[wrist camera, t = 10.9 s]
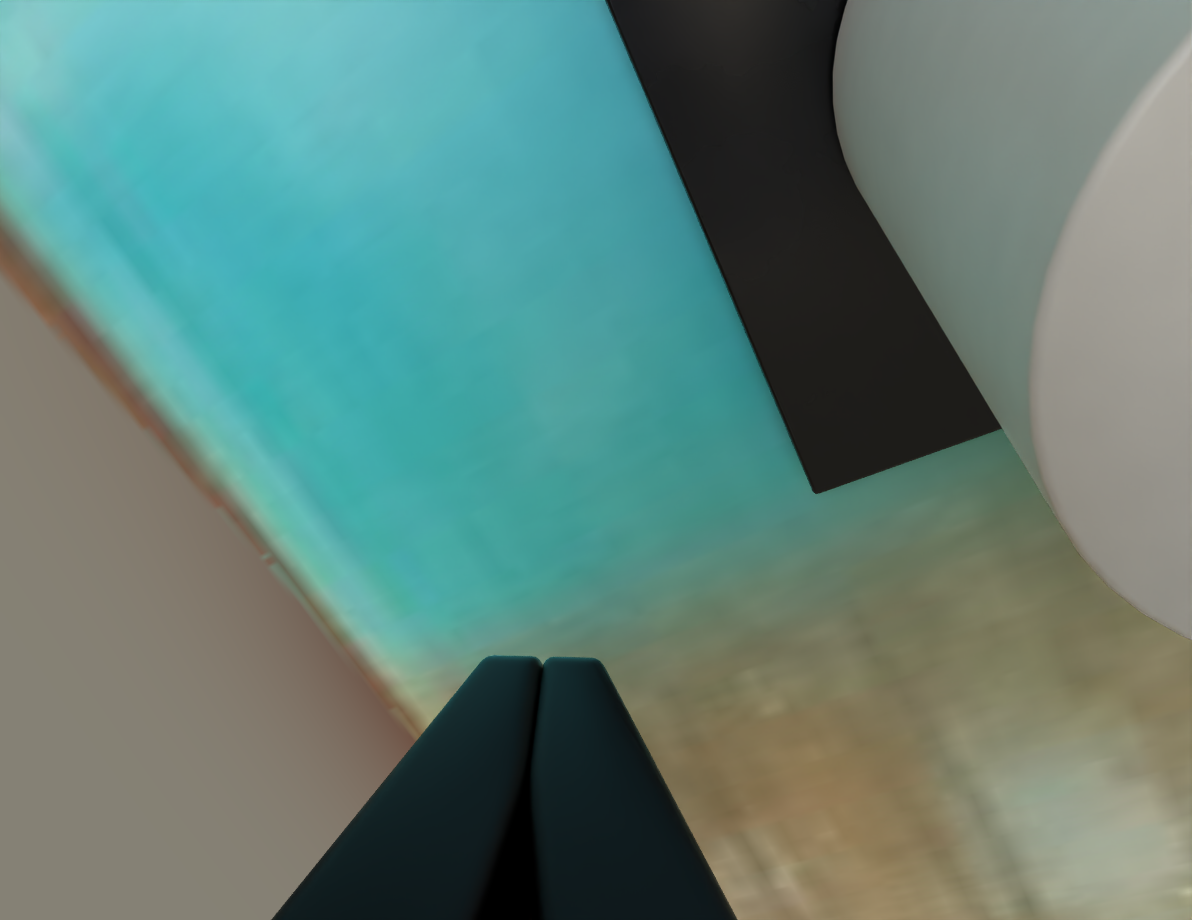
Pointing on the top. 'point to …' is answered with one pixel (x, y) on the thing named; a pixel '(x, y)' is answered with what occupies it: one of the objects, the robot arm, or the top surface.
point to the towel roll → (1050, 243)
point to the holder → (799, 232)
